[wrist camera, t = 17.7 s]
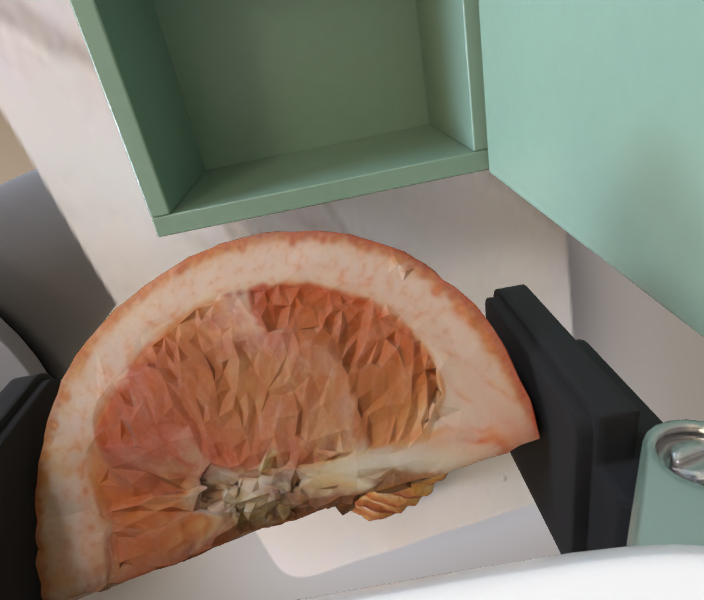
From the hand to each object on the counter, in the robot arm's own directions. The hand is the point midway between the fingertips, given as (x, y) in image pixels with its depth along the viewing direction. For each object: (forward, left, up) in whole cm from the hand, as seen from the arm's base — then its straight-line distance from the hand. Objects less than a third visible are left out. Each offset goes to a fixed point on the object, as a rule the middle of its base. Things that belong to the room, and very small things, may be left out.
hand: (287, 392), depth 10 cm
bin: (+1, +8, -20) cm, 22 cm away
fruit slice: (0, 0, -2) cm, 2 cm away
